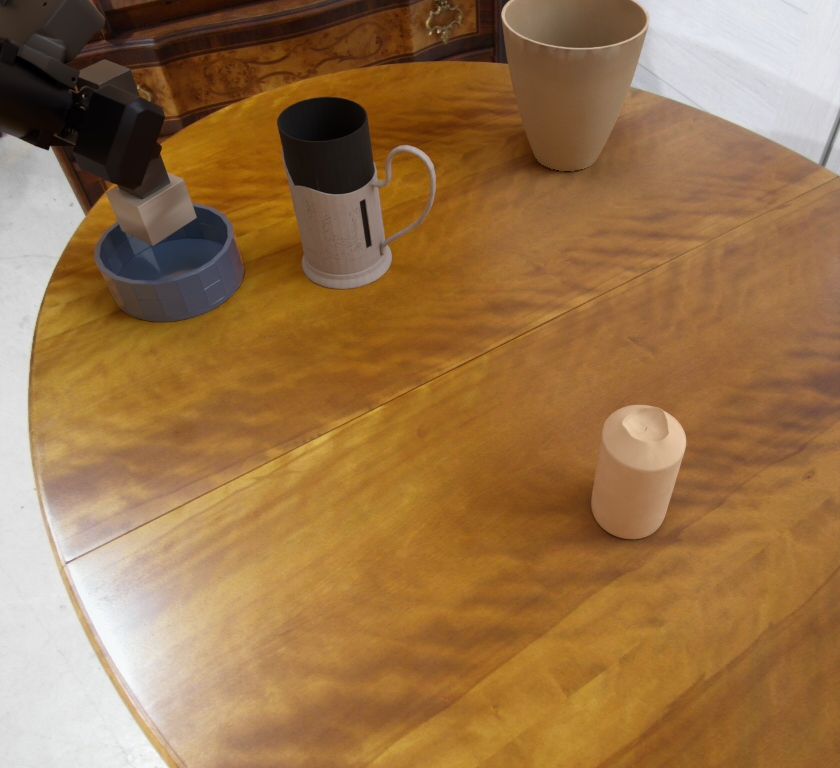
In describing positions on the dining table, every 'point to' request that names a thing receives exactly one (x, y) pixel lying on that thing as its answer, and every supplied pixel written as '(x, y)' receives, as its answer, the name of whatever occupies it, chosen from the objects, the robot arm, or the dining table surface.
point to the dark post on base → (160, 191)
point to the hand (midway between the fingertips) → (145, 146)
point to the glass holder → (339, 191)
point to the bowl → (172, 268)
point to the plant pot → (571, 72)
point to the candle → (636, 470)
